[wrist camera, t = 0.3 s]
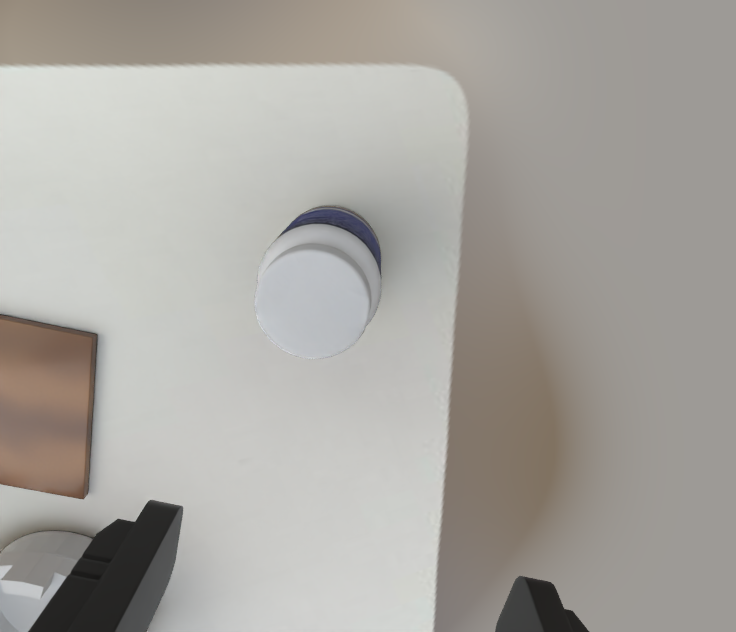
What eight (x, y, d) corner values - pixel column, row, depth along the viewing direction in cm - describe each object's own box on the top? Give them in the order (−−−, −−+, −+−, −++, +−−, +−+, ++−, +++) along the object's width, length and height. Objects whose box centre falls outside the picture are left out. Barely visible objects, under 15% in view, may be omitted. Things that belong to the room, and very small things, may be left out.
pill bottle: (276, 207, 29) (230, 240, 20) (377, 200, 29) (379, 229, 20) (288, 304, 31) (251, 376, 22) (383, 298, 31) (388, 368, 21)
